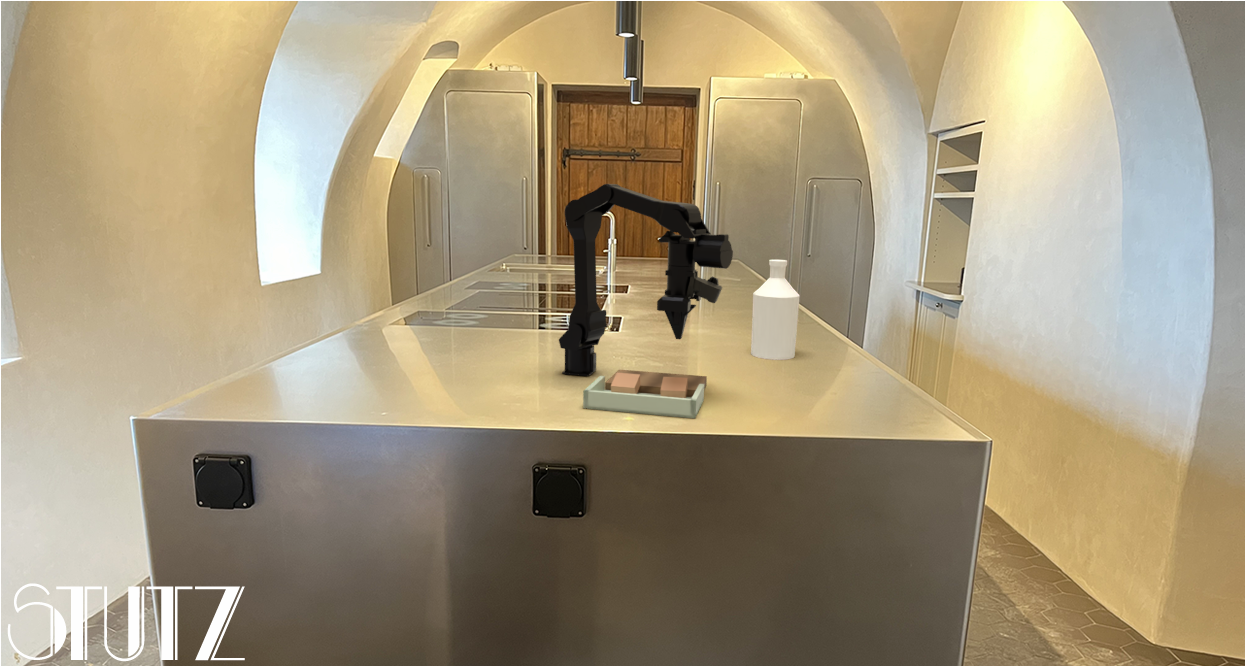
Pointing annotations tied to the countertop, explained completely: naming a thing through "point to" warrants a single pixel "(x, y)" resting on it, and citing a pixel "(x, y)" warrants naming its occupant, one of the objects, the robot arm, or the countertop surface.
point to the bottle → (775, 316)
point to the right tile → (674, 387)
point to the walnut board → (659, 381)
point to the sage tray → (641, 401)
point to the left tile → (626, 383)
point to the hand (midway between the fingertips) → (678, 338)
